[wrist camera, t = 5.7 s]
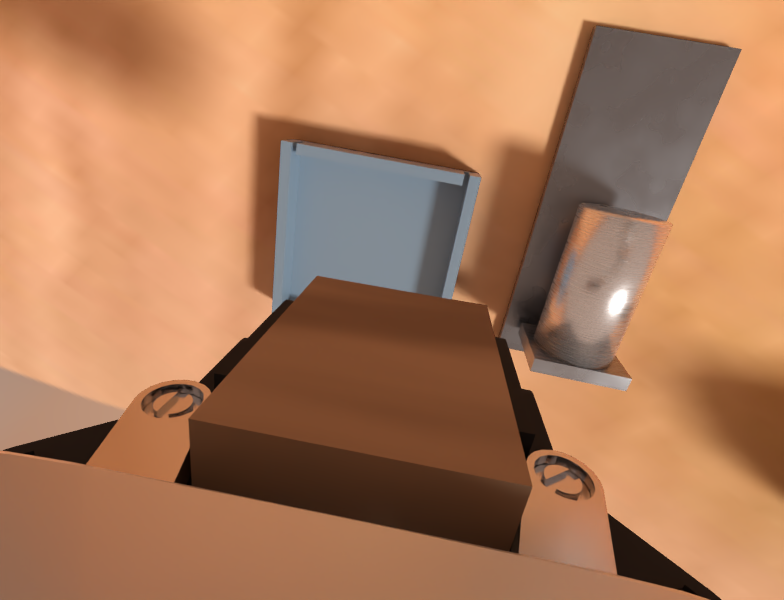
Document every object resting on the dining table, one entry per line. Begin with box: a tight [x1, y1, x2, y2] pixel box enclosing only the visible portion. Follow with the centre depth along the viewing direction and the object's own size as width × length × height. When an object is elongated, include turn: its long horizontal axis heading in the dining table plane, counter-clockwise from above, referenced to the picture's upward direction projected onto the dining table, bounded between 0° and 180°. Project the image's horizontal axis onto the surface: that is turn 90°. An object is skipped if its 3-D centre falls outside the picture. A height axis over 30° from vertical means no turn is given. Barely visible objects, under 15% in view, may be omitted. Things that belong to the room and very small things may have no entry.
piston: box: [518, 203, 673, 391], centre depth 23 cm, size 9×5×5 cm, turn 171°
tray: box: [272, 139, 481, 313], centre depth 26 cm, size 11×11×2 cm
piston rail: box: [499, 26, 742, 351], centre depth 24 cm, size 18×7×1 cm, turn 171°
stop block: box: [188, 276, 533, 551], centre depth 9 cm, size 4×4×6 cm
